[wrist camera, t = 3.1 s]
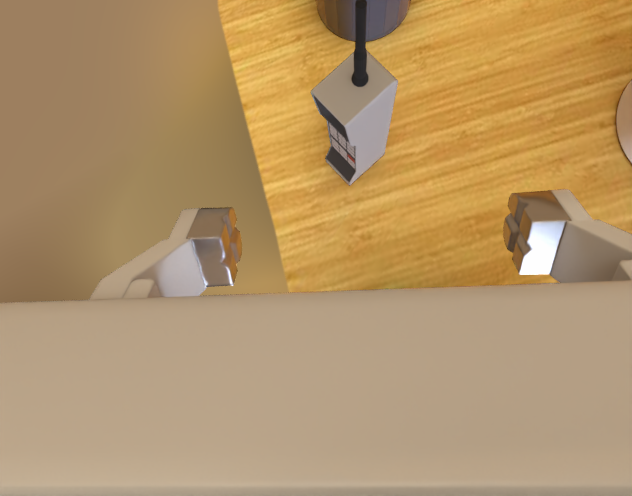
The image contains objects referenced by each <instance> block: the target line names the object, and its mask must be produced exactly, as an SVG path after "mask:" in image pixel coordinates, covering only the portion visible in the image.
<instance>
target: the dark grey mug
mask: <svg viewBox="0 0 632 496" xmlns="http://www.w3.org/2000/svg"><path fill="white" fill-rule="evenodd" d="M356 1H357V0H316V5H317V10H318V13H319V16H320V18H321V20H322V21H323V23H324V24H325V25H326V27H327V28H328V29H329V30H330V31H332V32H333V33H334V34H336V35H338V36H339V37H341V38H344V39H347V40H351V41H355V2H356ZM366 1H367V14H366V41H372V40H376V39H379V38H381V37H384V36H386V35H387V34H389V33H391V32H392V31H393V30H395V29H396V28H397V27H398V26H399V25H400V24H401V22H402V21H403V20H404V18H405V16H406V15H407V12H408V10H409V7H410V3H411V0H366Z"/></svg>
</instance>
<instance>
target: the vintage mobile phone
mask: <svg viewBox="0 0 632 496" xmlns="http://www.w3.org/2000/svg"><path fill="white" fill-rule="evenodd" d="M366 14H367V1H366V0H357V1H356V2H355V51H354V52H353V53H352V54H351V55H350V56H349V57H348V58H347V59H346V60H345V61H343V62H342V63H341V64H340V65H339V66H338V67H337V68H336V69H335V70H333V71H332V72H331V73H330V74H329V75H328V76H327V77H326V78H325V79H324V80H322V81H321V82H320V83H319V84H318V85H317V86H316V87H315V88H314V89H313V90H311V94H312V97H313V99H314V101H315V104H316V106H317V108H318V111H319V113H320V115H322V116H323V117H324V118H325V119H326V120H327V125H328V131H329V137H330V143H331V147H330V149H329V151H328V153H327V156H326V158H325V159H326V162H327V163H328V164H329V165H330V166H331V167H332V168H333V169H334V170H335V171H336V172H337V173H338V174H339V175H340V176H341V178H342V179H343V180H344V181H345V182H346V183H347V184H348V185H349V186H350V185H351V184H352V183H353V182H354V181H355V180H356V179H358V178H359V177H360V176H361V175H362V174H363V173H364V172H365V171H366V170H367V169H369V168H370V167H371V166H372V165H373V164H374V163H375V162H376V161H377V160H378V159H380V158H381V157H382V156H383V155H384V153H385V147H386V142H387V137H388V132H389V126H390V121H391V116H392V110H393V105H394V100H395V95H396V89H397V84H398V80H397V79H396V78H395V77H394V76H392V75H391V74H390V73H389V72H388V71H387V70H386V69H385V68H384V67H383V66H382V65H381V64H380V63H379V62H378V61H377V60H376V59H375V58H374V57H373V56H372V55H371V54H370V53H369V52H368V51H367V50H366V48H365V43H366Z"/></svg>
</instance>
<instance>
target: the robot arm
mask: <svg viewBox="0 0 632 496" xmlns="http://www.w3.org/2000/svg"><path fill="white" fill-rule="evenodd" d="M616 125H617V133H618V137H619V141H620V144H621V146H622V148H623V151H624V152H625V154H626V156H627V157H628V159H629V160H630V162H631V163H632V80H631V81H630V82H629V84H628V85H627V87H626V88H625V90H624V92H623V94H622V96H621V98H620V101H619V104H618V109H617V117H616ZM508 207H509V209H510V211H511V213H510V214H509V215H508V216H507V217H506V218H505V221H504V227H503V237H504V242H505V245H506V247H507V249H508V250H509V251H511V252H513V258H512V260H513V262H514V264H515V266H516V268H517V270H518V273H519V274H550V275H551V276H552V277H553V278H555V279H556V280H557V281H559V282H560V283H542V284H514V285H487V286H459V287H431V288H403V289H375V290H347V291H320V292H292V293H266V294H236V295H209V296H199V295H200V294H201V293H202V292H203V291H204V290H205V289H206V287H211V286H228V285H234V282H235V278H236V274H237V266H236V264H237V263H238V262H239V261H240V258H241V255H242V241H241V235H240V231H239V230H238V229H237V228H236V227H235V224H236V221H237V218H236V214H235V210H234V209H233V208H232V207H225V208H201V209H200V208H194V209H184V210H182V212H181V214H180V216H179V218H178V220H177V222H176V224H175V226H174V228H173V230H172V232H171V234H170V236H169V238H168V240H162V241H161V242H159V243H157V244H156V245H154V246H153V247H152V248H150V249H148V250H147V251H145V252H143V253H142V254H140V255H139V256H137V257H136V258H134V259H132V260H131V261H129V262H128V263H126V264H125V265H123V266H121V267H120V268H118V269H117V270H115V271H114V272H112V273H111V274H109V275H108V276H106V277H104V278H103V279H101V281H100V282H99V284H98V285H97V287H96V289H95V290H94V292H93V294H92V295H91V297H90V299H89V300H70V301H69V300H68V301H41V302H11V303H0V496H632V234H630V233H628V232H626V231H623V230H621V229H619V228H616V227H614V226H612V225H610V224H607V223H605V222H603V221H601V220H593V219H592V218H591V217H590V215H589V214H588V213H587V212H586V210H585V209H584V208H583V206H582V205H581V204H580V203H579V201H578V200H577V199H576V197H575V196H574V195H573V194H572V192H571V191H570V190H568V189H559V190H548V191H536V192H523V193H512V194H511V196H510V198H509V202H508Z"/></svg>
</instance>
